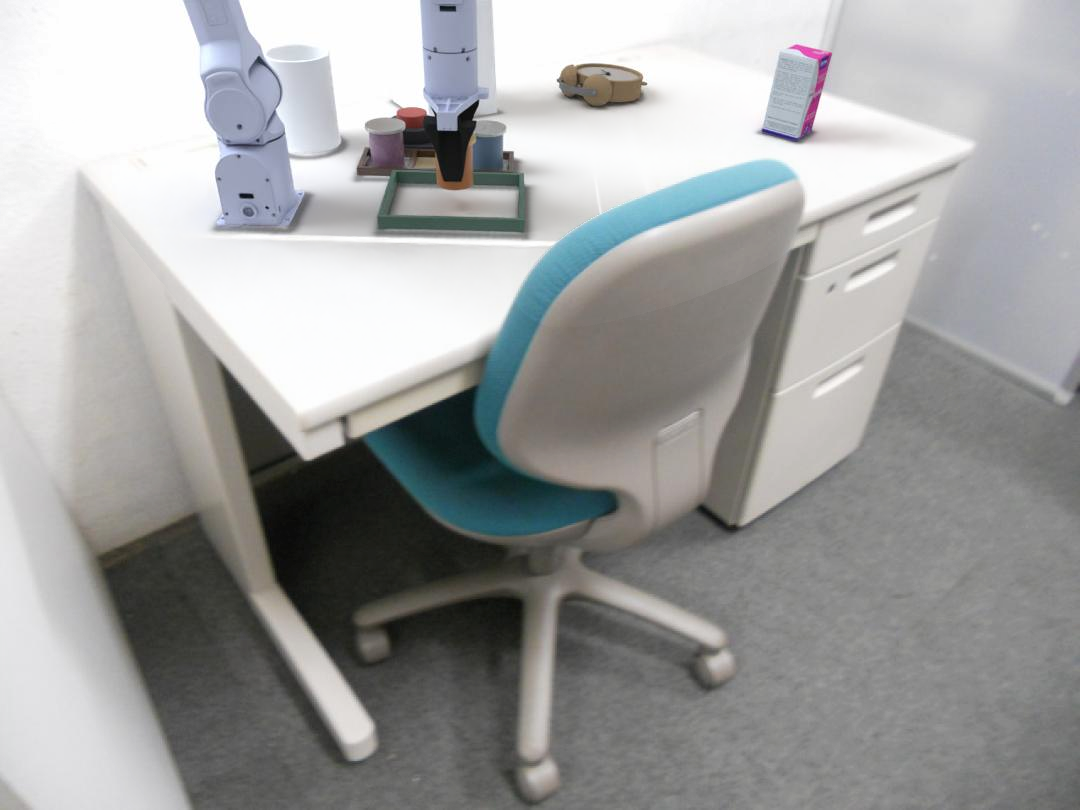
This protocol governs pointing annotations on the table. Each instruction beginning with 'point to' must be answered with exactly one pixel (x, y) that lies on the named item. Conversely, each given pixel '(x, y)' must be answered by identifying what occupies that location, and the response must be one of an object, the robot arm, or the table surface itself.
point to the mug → (306, 97)
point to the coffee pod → (467, 175)
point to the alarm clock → (601, 83)
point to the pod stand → (419, 162)
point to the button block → (416, 138)
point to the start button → (412, 116)
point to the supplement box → (796, 92)
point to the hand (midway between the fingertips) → (454, 171)
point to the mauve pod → (386, 142)
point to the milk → (411, 55)
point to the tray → (451, 221)
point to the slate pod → (488, 145)
